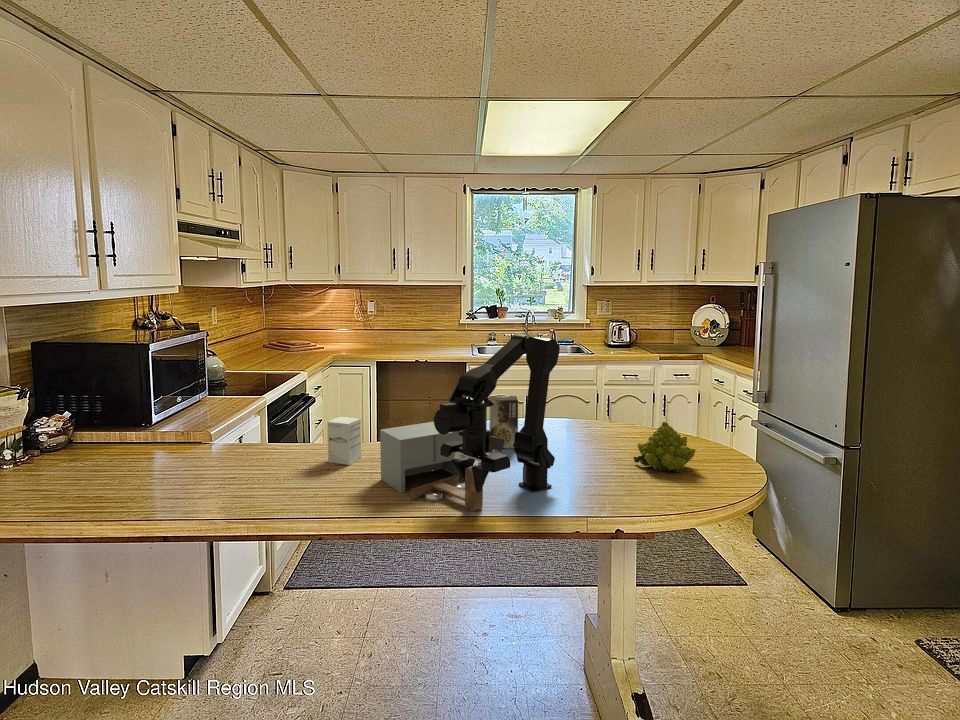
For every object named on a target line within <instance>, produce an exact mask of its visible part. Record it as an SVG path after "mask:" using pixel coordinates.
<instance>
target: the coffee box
mask: <svg viewBox="0 0 960 720" xmlns="http://www.w3.org/2000/svg"><path fill="white" fill-rule="evenodd" d="M489 400H490V401H491V402H492V403H493V404H494V405H493V406H490V407H489V430H490V432H491V436H493V437H497V438H501V439H504V440H505V441H504V445H503V448H505V449H514V447H513V444H514V441H515V433H516V432H519V400H518V396H517V395H490V396H489Z"/></svg>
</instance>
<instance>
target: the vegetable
mask: <svg viewBox="0 0 960 720" xmlns="http://www.w3.org/2000/svg"><path fill="white" fill-rule="evenodd" d="M687 443H688V437H687V436H681V434H680V433H678V431H677V430H675V429H674V428H673V426H671V425H669V422H666V421H662V423H661V425H660V426H659V427H658V428H657V430H655V431H653V434H651V436H648V438H647V442H644V443H637V445H636V446H637V448H638V451H639V454H641V455H638V456H633V457H632V458H633V460H634V463H637V464H638V463H639V462H640V463H639V464H641V465H642V466H646V467H650V466H651V467H652V466H653V467H652V468H653V470H655V471H656V470H658V471H660V470H659V469H664V470H663V471H665V470H669V471H668V472H675V471H676V472H675V473H679V472H681V473H682V472H683V471H684V466H685V465H687V463H689V462H691V459H693V457H695V453H696V450H697V449H696V448H690V447H688V446H687V445H688V444H687Z"/></svg>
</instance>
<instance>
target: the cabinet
mask: <svg viewBox="0 0 960 720" xmlns="http://www.w3.org/2000/svg"><path fill="white" fill-rule="evenodd" d="M379 433H380V435H379V437H380V440H379V442H380V444H379V445H380V480H381V481H383V482H384V483H385V484H387V485H388V486H390V487H391V488H393V489H395V490H396V491H398V492H399V493H400V494H403V493H406V477H410V476H414V475H419V474H423V473H422V472H424V473H428V471H429V472H433V471H432V470H434V471H438V470H437V469H439V470H444V469H445V470H444V471H446V470H447V471H446V472H448V473H450V474H451V475H453V474H454V475H458V476H459V479H461V480H463V479H462V477H461V475H460V473H459V471H458V469H457V468H456V466H455V464H454V463H453V462H452V459H454V454H453V452H451V455H450V456H449V457H445V456H442V455H440V448H441V446H442V445H443V443H447V442H451V441H455V440H458V441H461V442H462V436H460V435H459V431H457V432H453V433H449V434H445V435H442V434H440V433H439V432H438V431H437V430H436V428H435V426H434V421H428V422H423V423H422V422H421V423H415V424H409V425H403V426H395V427H390V428H389V427H388V428H382V429H379ZM442 468H443V469H442ZM418 473H419V474H418ZM413 474H414V475H413ZM454 475H453V476H454Z"/></svg>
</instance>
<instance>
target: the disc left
mask: <svg viewBox="0 0 960 720" xmlns="http://www.w3.org/2000/svg"><path fill="white" fill-rule="evenodd" d="M424 500H425V501H427V502H431V503H432V502H435V503H436V502H439V501H441V500H443V491H441V490H431V491H427V492H425V495H424Z"/></svg>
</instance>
